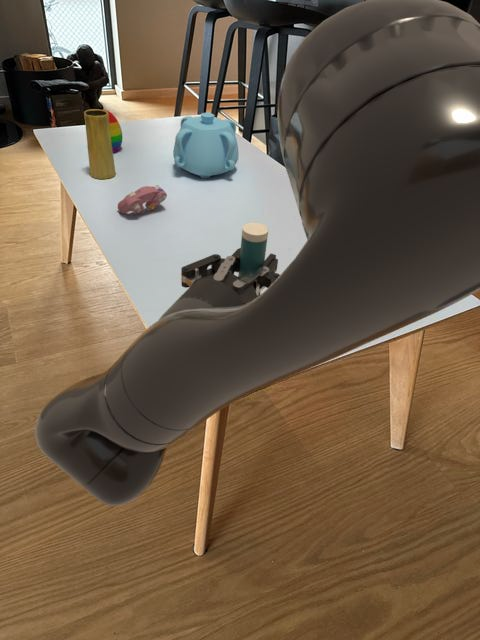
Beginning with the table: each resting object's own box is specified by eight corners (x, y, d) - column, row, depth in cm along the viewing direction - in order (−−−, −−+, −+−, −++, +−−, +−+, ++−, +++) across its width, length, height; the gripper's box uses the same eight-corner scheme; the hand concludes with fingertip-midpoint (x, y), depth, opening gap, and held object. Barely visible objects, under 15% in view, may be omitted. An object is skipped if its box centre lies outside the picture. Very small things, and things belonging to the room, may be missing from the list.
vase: (101, 181, 109) (94, 118, 100) (84, 173, 112) (75, 111, 103) (121, 174, 113) (115, 113, 104) (104, 167, 116) (97, 106, 107)
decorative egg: (101, 157, 121) (97, 117, 114) (86, 147, 125) (81, 108, 119) (129, 151, 125) (126, 112, 119) (113, 142, 130) (110, 104, 123)
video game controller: (125, 224, 98) (132, 203, 92) (114, 208, 99) (120, 185, 93) (164, 212, 103) (172, 191, 98) (153, 197, 104) (161, 175, 98)
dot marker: (260, 307, 66) (271, 225, 58) (254, 320, 64) (264, 237, 56) (239, 302, 67) (246, 220, 58) (232, 315, 64) (239, 231, 56)
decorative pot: (181, 154, 127) (181, 101, 118) (239, 161, 126) (243, 108, 118) (167, 177, 114) (166, 120, 106) (232, 185, 114) (236, 128, 105)
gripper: (261, 323, 46) (314, 246, 58) (140, 280, 50) (214, 217, 62) (254, 375, 51) (304, 294, 63) (144, 333, 55) (212, 264, 67)
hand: (259, 256), depth 63 cm, fingers closed on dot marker, 3 cm apart
